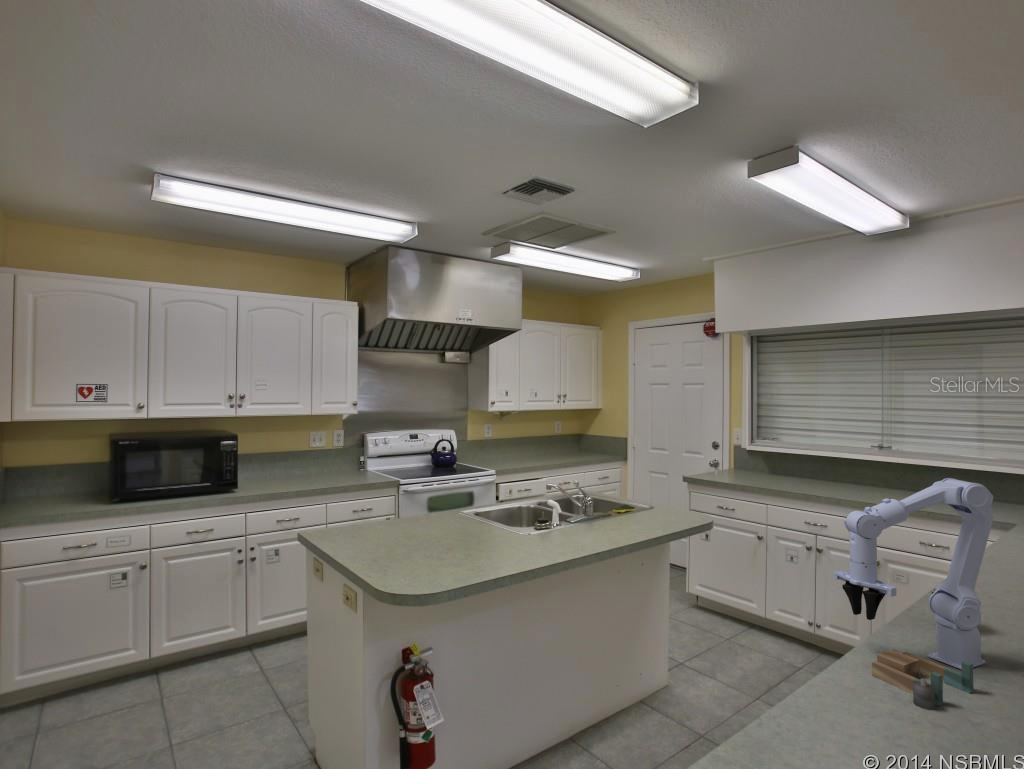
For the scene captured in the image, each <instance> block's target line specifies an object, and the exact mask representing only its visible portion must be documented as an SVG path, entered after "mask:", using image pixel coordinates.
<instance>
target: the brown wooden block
mask: <svg viewBox="0 0 1024 769" xmlns="http://www.w3.org/2000/svg"><path fill="white" fill-rule="evenodd" d="M903 653H904V652H901V651H897V650H894V649H890V650H886V651H883V652H881V653H877V654H876V661H877V662H879V663H881V664H884V665H886V666H889V667H891V668H893V669H896V670H898V671H900V672H903V673H905V674H907V675H910V676H912V677H915V678H917V679H918V678H919V677H921V676H920V675H921V673H920V660H918V659H916V658H913V657H910V656H908V655H905V654H903Z"/></svg>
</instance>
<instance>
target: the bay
mask: <svg viewBox="0 0 1024 769" xmlns="http://www.w3.org/2000/svg"><path fill="white" fill-rule="evenodd" d="M902 653H903V654H905V655H908V656H910V657H913V658H916V659H918V660H920V674H921V675H925V676H927V677H929V678H930V683H928V681H927V679H925V678H920V679H919V678H918V677H917V678H915V677H912V676H910V675H907V674H905V673H903V672H900V671H898V670H896V669H893V668H891V667H889V666H886V665H884V664H881V663H879V662H877V660H876V661H872V662H871V676H873V677H874V678H877V679H879V680H881V681H883V682H886V683H888V684H890V685H893V686H895V687H897V688H899V689H901V690H903V691H906V692H907V693H910V694H912V696H913V701H912V702H913V704H914V705H915V706H917V707H919V708H921V709H924V710H934V709H935V706H936V705H937V706H942V705H943V704H944V695H943V694H944V691H943V690H944V689H943V688H944V686H943V685H944V684H946V685H949V686H951V687H953V688H956V689H958V690H961V691H963V692H965V693H968V694H972V693H974V692H975V691H974V690H975V689H974V687H975V686H974V667H973V664H971V663H969V662H966V661H965V662H962V670H961V672H959V671H956V670H954V669H952V668H950V667H946V666H943V665H941V664H939V663H936V662H933V661H930V660H929V659H925V658H923V657H920V656H918V655H915V654H913V653H911V652H908V651H905V652H902ZM943 683H944V684H943Z"/></svg>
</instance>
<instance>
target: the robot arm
mask: <svg viewBox="0 0 1024 769" xmlns="http://www.w3.org/2000/svg"><path fill="white" fill-rule="evenodd" d="M994 498H995V497H994V495H993V493H991V492H990V491H989V489H988V488H987V487H986V486H985V485H983V484H982V483H977V482H970V481H966V480H959V479H957V478H952V477H947V478H943V479H942V480H938V481H935V482H933V483H932V485H931V486H928V487H926V488H924V489H922V490H920V491H917V492H915V493H913V494H912V495H909V496H907V497H905V498H902V499H901V500H897V499H895V498H891V499H890V498H884V499H882V500H881V501H882V502H881V503H877V504H875V505H874V506H871V507H870V506H865V507H864V510H863V511H862V510H854V511H851V512H850V513H849V514H848V515H847V516H846V519H845V520H844V521H843V524H844V527H845V528H846V530H847V531H848V534H849V535H848V537H849V572H847V571H844V570H839V569H838V570H833V572H832V573H833V580H840V581H842V582H845V583H844V584H841V588H842V590H843V591H844V592H845V595H846V596H847V598H848V601H849V604H850V607H851V611H852V614H853V615H855V616H858V615H861V614H862V611H863V610H862V609H863V608H862V605H863V604H862V601H863V600H862V599H863V598H864V603H865V612H866V613H865V617H866V620H868V621H871V620H875V619H876V615H877V611H878V608H879V606H880V604H881V602H882V600H883V599H884V597H885V596H886V595H887V596H888V597H891V598H892V597H896V596H897V587H896V586H892V585H890V584H888V583H885V582H884V581H882V580H879V579H878V547H877V546H878V543H877V540H878V539H877V538H879V537H880V535H881V534H882V533H883V531H884V530H886V529H888V528H890V527H893V526H896V525H898V524H900V523H903V522H906V521H907V520H908V516H909V514H911V513H915V512H917V511H918V512H919V511H920V510H923V509H926V508H927V509H928V508H930V507H932V506H935V505H937V504H946V505H948V506H950V507H951V508H952V509H954V511H955V512H956V513H957V514H958V515H959V517H960V518H961V520H962V521H961V525H960V528H959V533H958V537H957V539H956V543H955V546H954V550H953V555H952V558H951V561H950V563H949V564H950V565H949V569H948V572H947V576H946V578H945V580H944V581H941V582H940V583H938V584H937V585H936V586H935V588H936V590H935V592H934V593H933V594H932V593H931V594H930V597H929V598H928V607H929V609H930V611H931V612H932V613H933V614H934V619H935V632H936V633H935V640H936V641H935V643H936V644H935V648H936V651H935V652H932V653H930V654H928V655H927V656H928V658H929V659H930V658H931V659H933V660H935V661H937V662H940V663H944V664H946V665H949V666H951V667H954V668H957V669H959V670H961V671H962V662H965V661H966V662H969V663H971V664H973V668H976V667H978V666H981V665H984V664H986V663H987V662H986V660H984V659H982V637H981V636H982V635H981V633H980V630H979V629H978V628H977V627H978V626H979V624H980V623H981V620H982V613H981V604H982V602H981V600H980V598H979V596H978V594H977V593H976V591H975V588H976V585H977V580H978V577H979V573H980V569H981V566H982V563H983V558H984V554H985V551H986V547H987V544H988V540H989V538H990V533H991V529H992V526H993V523H994V516H993V511H992V510H993V509H992V504H993V500H994ZM864 589H866V590H864ZM955 596H956V597H955Z"/></svg>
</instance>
